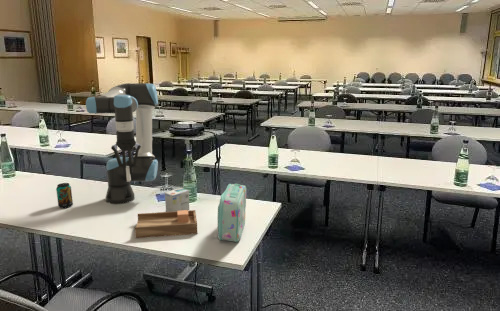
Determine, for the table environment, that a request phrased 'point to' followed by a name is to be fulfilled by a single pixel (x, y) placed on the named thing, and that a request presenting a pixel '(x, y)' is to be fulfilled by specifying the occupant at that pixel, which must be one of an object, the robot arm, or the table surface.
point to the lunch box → (232, 213)
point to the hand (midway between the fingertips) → (128, 180)
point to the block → (183, 216)
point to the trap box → (164, 224)
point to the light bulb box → (177, 200)
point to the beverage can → (64, 195)
